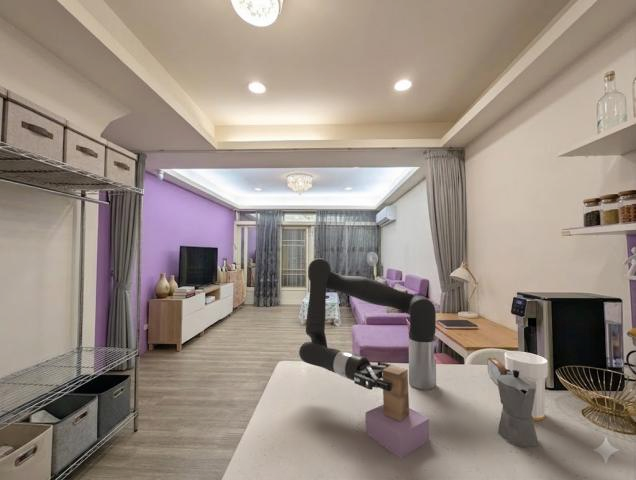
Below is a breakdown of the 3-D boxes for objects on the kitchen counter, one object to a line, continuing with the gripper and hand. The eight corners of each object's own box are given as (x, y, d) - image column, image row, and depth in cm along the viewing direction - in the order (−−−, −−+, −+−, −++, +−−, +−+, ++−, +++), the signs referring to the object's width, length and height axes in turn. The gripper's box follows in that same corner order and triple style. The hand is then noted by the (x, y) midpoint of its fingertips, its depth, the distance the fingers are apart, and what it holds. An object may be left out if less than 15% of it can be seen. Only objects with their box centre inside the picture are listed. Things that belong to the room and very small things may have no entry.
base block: (394, 420, 88) (394, 399, 88) (429, 441, 78) (429, 418, 78) (365, 434, 81) (365, 412, 81) (400, 459, 71) (400, 434, 72)
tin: (510, 392, 106) (510, 368, 106) (501, 391, 106) (500, 368, 107) (494, 375, 120) (493, 354, 121) (485, 374, 121) (485, 354, 121)
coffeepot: (548, 456, 72) (546, 383, 73) (505, 448, 75) (503, 377, 76) (525, 422, 87) (523, 361, 88) (489, 416, 90) (488, 357, 90)
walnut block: (392, 407, 84) (391, 365, 85) (409, 413, 80) (407, 369, 81) (383, 414, 80) (382, 369, 81) (400, 421, 77) (398, 374, 78)
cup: (543, 408, 95) (542, 354, 96) (554, 426, 85) (552, 366, 85) (502, 400, 100) (501, 349, 100) (508, 417, 89) (507, 359, 90)
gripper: (337, 360, 86) (385, 376, 75) (363, 348, 97) (410, 361, 86) (336, 385, 86) (385, 405, 75) (363, 371, 97) (410, 387, 86)
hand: (398, 382), depth 81 cm, fingers open, 8 cm apart
